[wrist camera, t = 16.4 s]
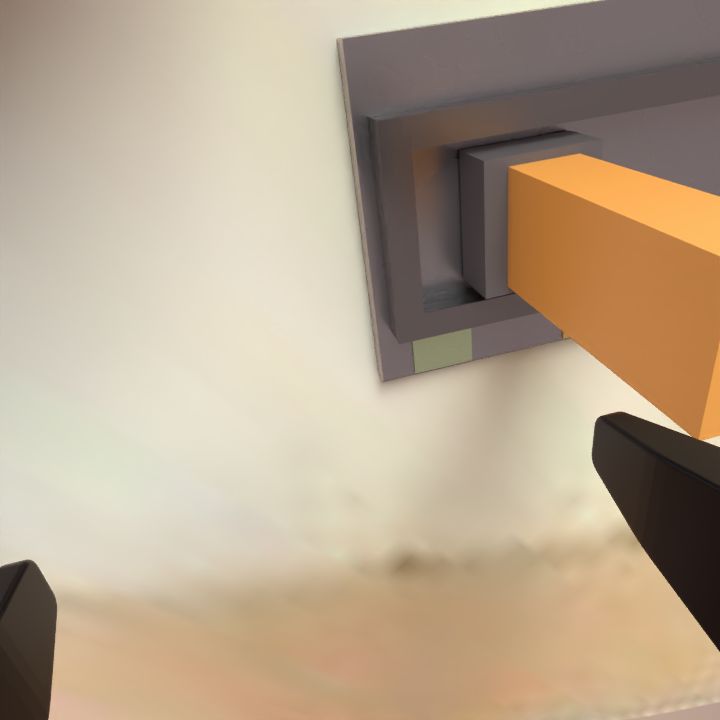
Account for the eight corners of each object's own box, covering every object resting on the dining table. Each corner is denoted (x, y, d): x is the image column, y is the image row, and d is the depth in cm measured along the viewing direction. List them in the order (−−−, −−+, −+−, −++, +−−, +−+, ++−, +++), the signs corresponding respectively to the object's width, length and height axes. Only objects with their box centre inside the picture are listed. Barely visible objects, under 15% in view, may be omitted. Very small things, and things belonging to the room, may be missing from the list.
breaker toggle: (463, 278, 22) (662, 461, 12) (458, 150, 19) (699, 256, 10) (562, 257, 22) (823, 417, 13) (569, 130, 20) (894, 213, 11)
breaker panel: (378, 371, 24) (391, 397, 22) (337, 39, 18) (351, 39, 16) (761, 282, 26) (800, 300, 25) (839, -35, 20) (897, -42, 19)
